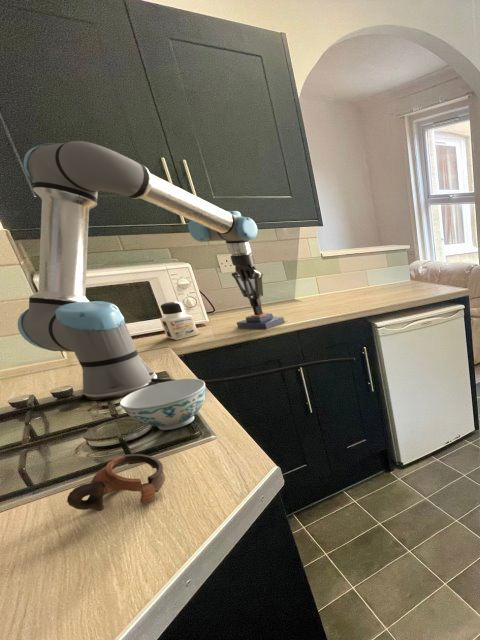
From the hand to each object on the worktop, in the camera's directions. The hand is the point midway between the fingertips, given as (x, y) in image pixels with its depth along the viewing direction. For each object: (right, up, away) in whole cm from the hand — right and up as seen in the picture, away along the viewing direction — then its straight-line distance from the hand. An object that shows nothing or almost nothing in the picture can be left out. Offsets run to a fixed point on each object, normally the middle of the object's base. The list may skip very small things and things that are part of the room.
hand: (258, 314), depth 171 cm
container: (-24, -10, -9) cm, 27 cm away
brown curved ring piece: (+39, -48, -101) cm, 119 cm away
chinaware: (+27, -38, -76) cm, 89 cm away
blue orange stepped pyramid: (0, -4, +2) cm, 5 cm away
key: (0, -2, +1) cm, 2 cm away
